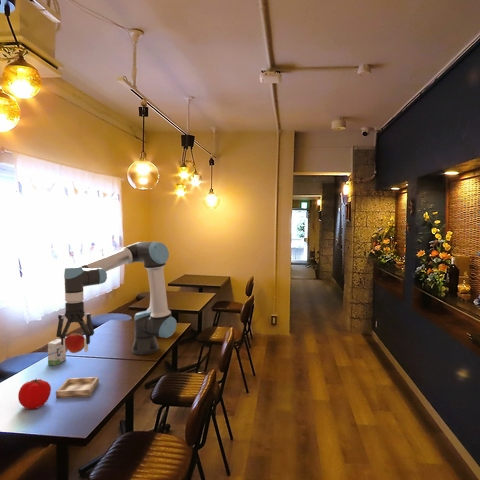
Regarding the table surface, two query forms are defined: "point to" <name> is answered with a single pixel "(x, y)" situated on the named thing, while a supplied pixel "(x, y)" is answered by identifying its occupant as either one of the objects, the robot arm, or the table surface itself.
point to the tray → (77, 387)
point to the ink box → (55, 352)
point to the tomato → (34, 393)
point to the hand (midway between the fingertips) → (76, 351)
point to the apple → (75, 343)
